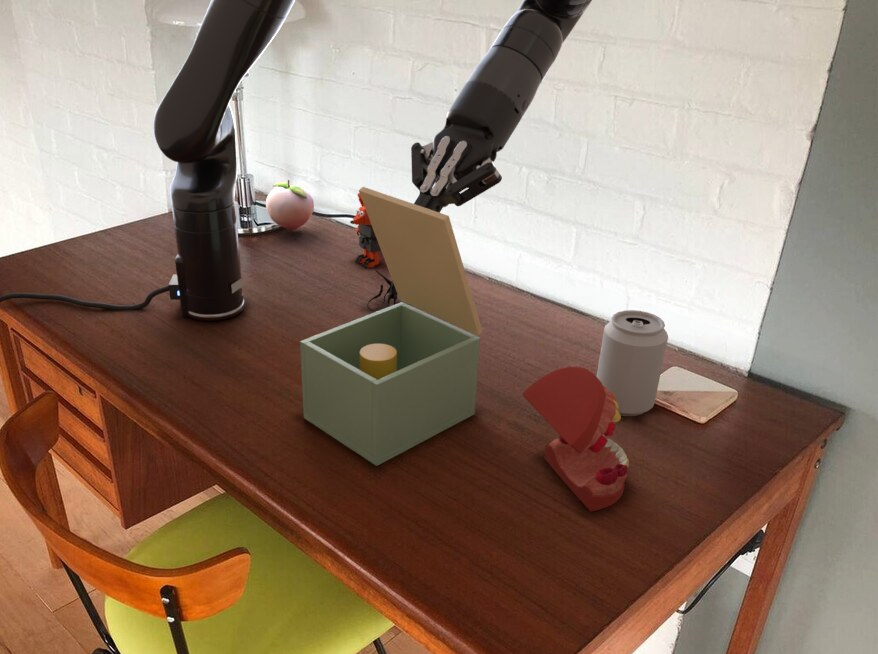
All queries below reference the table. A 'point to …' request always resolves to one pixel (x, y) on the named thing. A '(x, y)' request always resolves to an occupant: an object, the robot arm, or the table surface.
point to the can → (632, 359)
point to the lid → (422, 258)
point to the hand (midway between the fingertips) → (414, 227)
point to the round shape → (378, 360)
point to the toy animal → (366, 238)
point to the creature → (391, 292)
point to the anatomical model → (582, 434)
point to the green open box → (389, 381)
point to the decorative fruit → (289, 205)
